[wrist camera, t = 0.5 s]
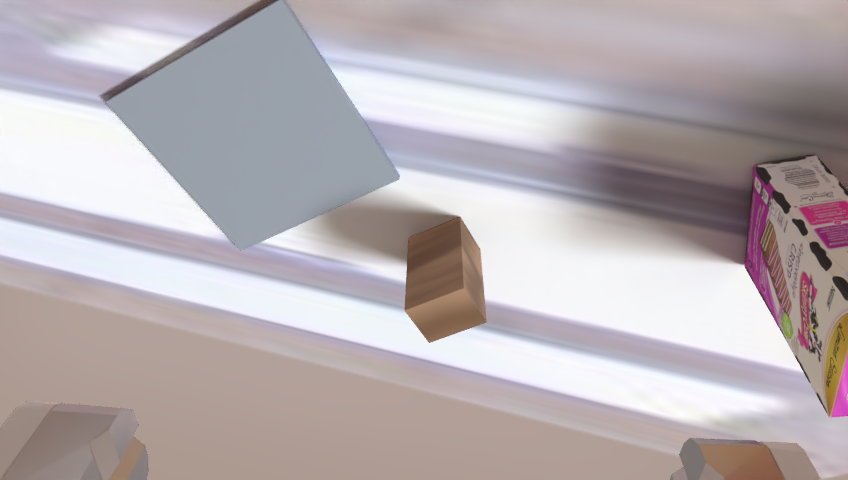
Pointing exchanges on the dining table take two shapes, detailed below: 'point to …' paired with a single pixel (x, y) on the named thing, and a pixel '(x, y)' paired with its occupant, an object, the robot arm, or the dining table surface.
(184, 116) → the rubber mat
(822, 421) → the dining table surface
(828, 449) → the dining table surface
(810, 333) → the candy bar box
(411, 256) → the walnut block
